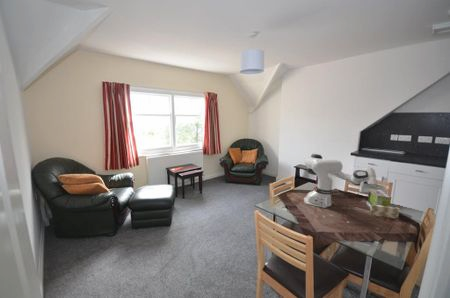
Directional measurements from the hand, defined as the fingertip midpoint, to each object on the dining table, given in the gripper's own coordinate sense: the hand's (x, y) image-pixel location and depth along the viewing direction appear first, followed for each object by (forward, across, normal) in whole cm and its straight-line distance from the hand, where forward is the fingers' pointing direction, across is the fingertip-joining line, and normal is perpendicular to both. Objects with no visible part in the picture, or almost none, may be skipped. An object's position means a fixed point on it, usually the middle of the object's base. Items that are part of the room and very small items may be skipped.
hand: (374, 199), depth 176 cm
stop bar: (+17, 0, +10) cm, 20 cm away
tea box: (+10, 0, +2) cm, 10 cm away
